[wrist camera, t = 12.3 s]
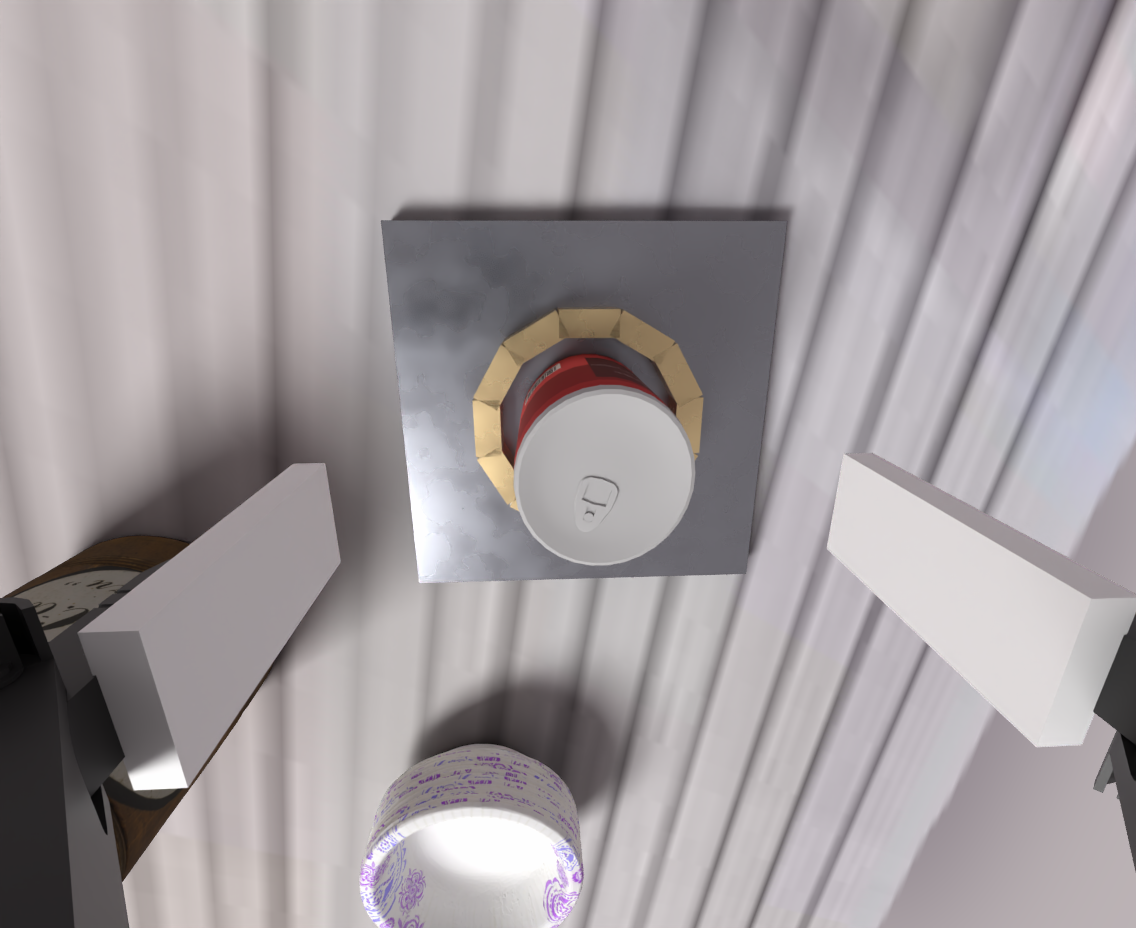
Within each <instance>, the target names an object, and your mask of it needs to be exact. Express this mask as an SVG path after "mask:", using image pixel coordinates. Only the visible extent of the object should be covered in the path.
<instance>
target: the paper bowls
mask: <svg viewBox="0 0 1136 928" xmlns="http://www.w3.org/2000/svg"><path fill="white" fill-rule="evenodd" d="M583 871H584V870H583V862H582V851H581V840H580V827H579V821H578V814H577V808H576V806H575V801H574V799H573V796H572V794H571V792H570V790H569V788H568V786H567V785H566V784H565V783H564V781H563V780H562V779H561V778H560V777H559V775H557V774H556V773H555V772H554V771H553V770H552V769H550V768H549V767H548V766H546V765H545V764H543V763H542V762H541V763H540V762H539V761H538V760H535V759H533V758H530V757H527V756H525V755H523V754H521V753H519V752H517V751H515V750H513V749H510V748H507V747H504V746H500V745H494V744H471V745H466V746H461V747H458V748H455V749H452V750H450V751H448V752H445V753H441V754H438V755H436V756H433V757H430V758H428V759H425V760H423V761H421V762H419V763H417V764H416V765H414V766H413V767H411V768H410V769H408V770H407V771H406V772H405V773H404V774H402V775H401V776H400V777H399V778H398V779H397V780H396V781H395V782H394V783H393V784H392V785H391V786H390V787H389V789H388V790H387V791H386V793H385V795H384V797H383V798H382V800H381V803H380V805H379V808H378V810H377V813H376V816H375V819H374V823H373V826H372V829H371V832H370V836H369V841H368V845H367V847H366V850H365V854H364V857H363V860H362V864H361V872H360V881H359V885H360V893H361V898H362V901H363V904H364V907H365V909H366V911H367V913H368V915H369V916H370V918H371V919H372V920H373V922H374V923H375V924H376V925H377V926H378V927H379V928H556V927H558V926H559V925H560V924H561V923H562V922H563V921H564V920H565V918H566V917H567V916H568V915H569V913H570V912H571V910H572V909H573V907H574V906H575V904H576V901H577V899H578V897H579V894H580V891H581V889H582V884H583V876H584V874H583V873H584V872H583Z"/></svg>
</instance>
